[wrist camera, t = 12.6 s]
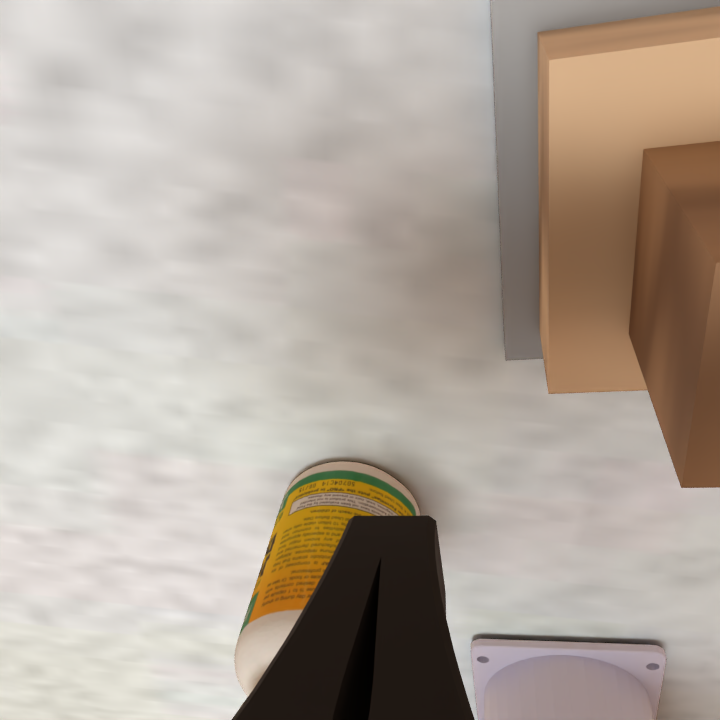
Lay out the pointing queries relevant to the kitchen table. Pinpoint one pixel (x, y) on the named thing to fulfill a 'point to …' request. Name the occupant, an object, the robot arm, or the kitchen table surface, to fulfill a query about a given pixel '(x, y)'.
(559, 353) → the oak brick
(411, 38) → the kitchen table surface
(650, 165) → the walnut block
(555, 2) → the baseplate
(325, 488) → the supplement bottle
